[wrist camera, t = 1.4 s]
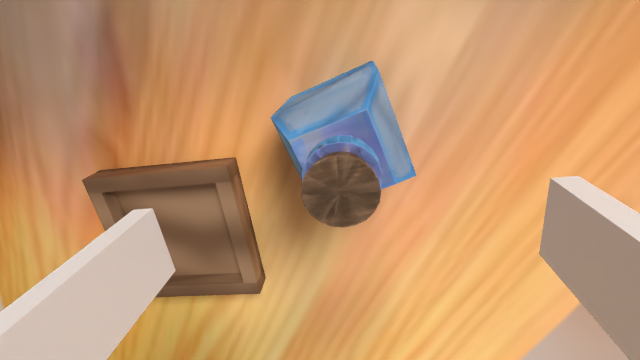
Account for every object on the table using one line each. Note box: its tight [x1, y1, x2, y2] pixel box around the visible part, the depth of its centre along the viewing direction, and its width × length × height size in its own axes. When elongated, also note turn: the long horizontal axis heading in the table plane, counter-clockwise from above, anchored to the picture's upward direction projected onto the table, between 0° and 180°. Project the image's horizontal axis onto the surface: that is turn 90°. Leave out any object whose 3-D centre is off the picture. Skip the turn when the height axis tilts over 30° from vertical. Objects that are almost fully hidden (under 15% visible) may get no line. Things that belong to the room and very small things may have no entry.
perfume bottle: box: [271, 61, 416, 227], centre depth 18 cm, size 6×6×12 cm
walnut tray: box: [82, 157, 265, 297], centre depth 28 cm, size 12×12×2 cm
